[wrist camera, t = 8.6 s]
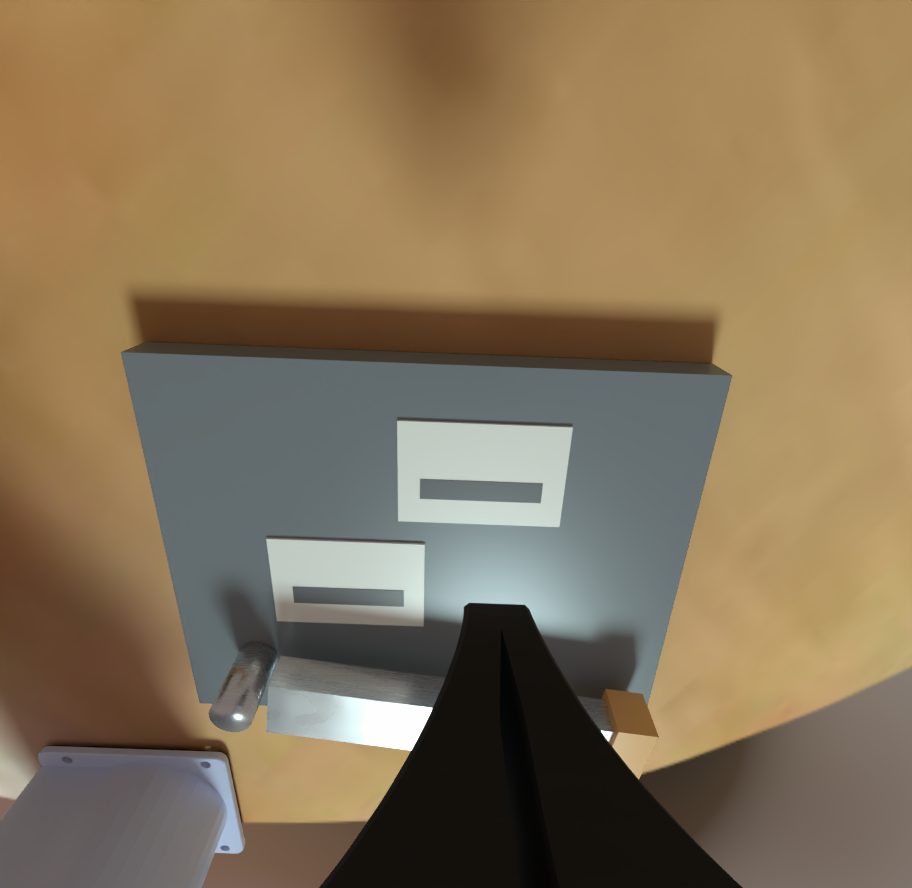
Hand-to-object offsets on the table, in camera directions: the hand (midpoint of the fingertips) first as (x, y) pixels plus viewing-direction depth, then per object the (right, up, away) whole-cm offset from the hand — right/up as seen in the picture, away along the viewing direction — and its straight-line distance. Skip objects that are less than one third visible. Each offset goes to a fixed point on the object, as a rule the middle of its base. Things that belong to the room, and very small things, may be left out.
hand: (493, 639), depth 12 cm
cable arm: (-1, -6, +11) cm, 12 cm away
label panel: (-2, 0, +10) cm, 10 cm away
